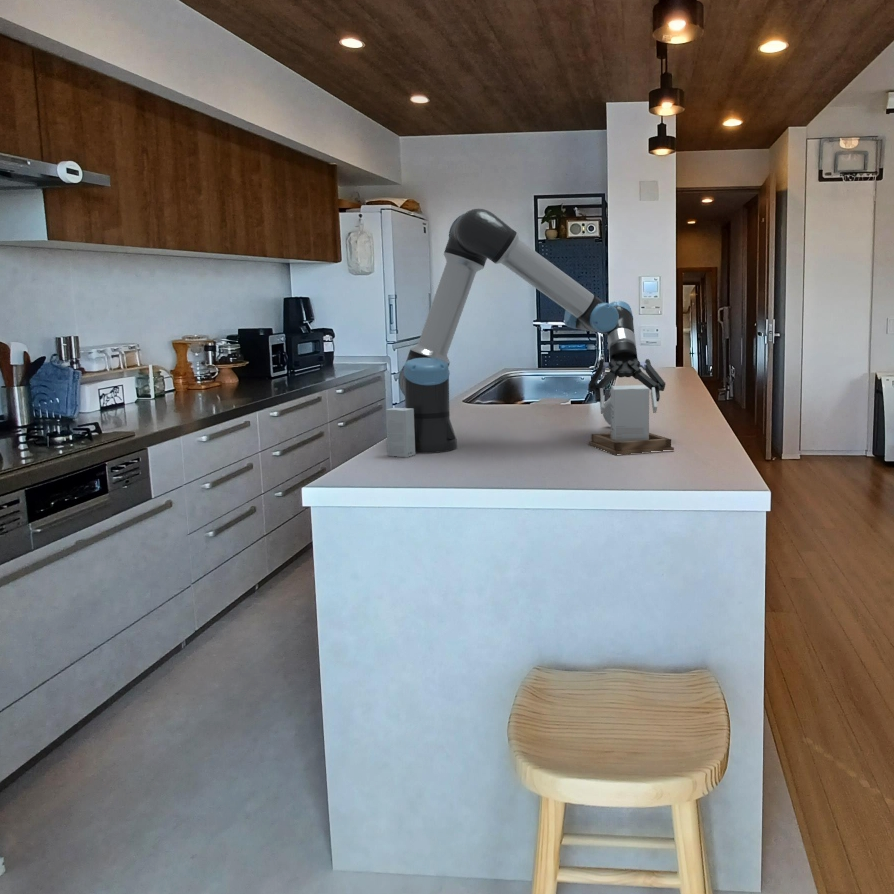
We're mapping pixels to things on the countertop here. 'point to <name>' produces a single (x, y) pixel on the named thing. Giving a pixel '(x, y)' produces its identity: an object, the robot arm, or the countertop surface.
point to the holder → (630, 444)
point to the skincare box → (400, 432)
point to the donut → (607, 411)
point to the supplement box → (629, 413)
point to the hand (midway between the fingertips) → (628, 410)
